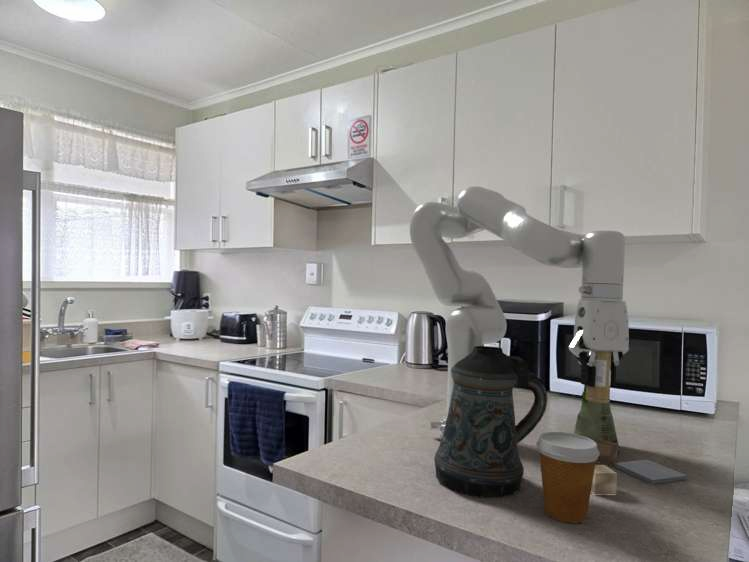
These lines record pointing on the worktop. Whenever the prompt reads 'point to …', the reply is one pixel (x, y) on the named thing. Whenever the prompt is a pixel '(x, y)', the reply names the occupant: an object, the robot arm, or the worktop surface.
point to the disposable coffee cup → (567, 474)
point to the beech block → (604, 480)
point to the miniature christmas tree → (595, 421)
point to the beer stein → (487, 424)
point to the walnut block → (606, 452)
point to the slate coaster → (650, 471)
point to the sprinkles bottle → (601, 379)
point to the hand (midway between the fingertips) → (597, 384)
